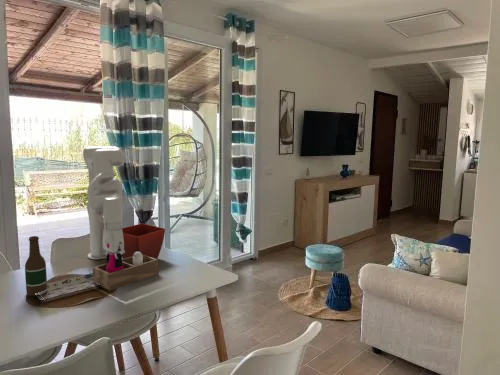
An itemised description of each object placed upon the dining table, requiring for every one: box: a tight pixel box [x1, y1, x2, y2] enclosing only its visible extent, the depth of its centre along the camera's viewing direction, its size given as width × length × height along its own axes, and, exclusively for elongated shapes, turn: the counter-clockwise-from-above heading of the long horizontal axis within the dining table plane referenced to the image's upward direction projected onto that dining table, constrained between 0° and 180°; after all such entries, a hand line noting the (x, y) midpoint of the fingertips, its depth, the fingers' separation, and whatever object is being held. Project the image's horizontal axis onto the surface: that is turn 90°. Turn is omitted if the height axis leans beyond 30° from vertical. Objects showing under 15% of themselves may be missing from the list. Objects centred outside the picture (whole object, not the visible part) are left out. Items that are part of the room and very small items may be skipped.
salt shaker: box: [133, 252, 143, 266], centre depth 174 cm, size 4×4×11 cm
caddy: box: [92, 254, 159, 291], centre depth 170 cm, size 13×25×8 cm, turn 142°
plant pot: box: [122, 223, 166, 259], centre depth 196 cm, size 19×19×17 cm
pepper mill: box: [106, 244, 123, 273], centre depth 164 cm, size 7×7×20 cm
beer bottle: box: [24, 235, 48, 298], centre depth 153 cm, size 8×8×24 cm
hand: (114, 264), depth 164 cm, fingers closed on pepper mill, 5 cm apart
